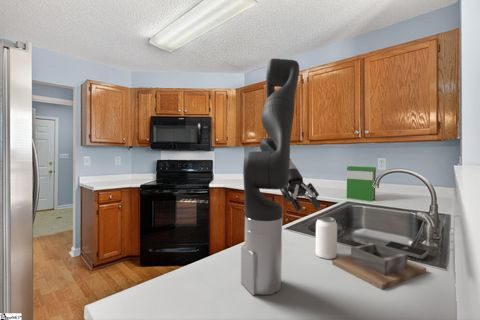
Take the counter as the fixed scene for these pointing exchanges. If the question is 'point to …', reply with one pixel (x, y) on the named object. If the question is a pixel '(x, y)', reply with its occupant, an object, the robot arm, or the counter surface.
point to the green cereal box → (361, 183)
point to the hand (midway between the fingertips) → (309, 209)
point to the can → (326, 237)
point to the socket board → (379, 265)
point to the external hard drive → (408, 250)
